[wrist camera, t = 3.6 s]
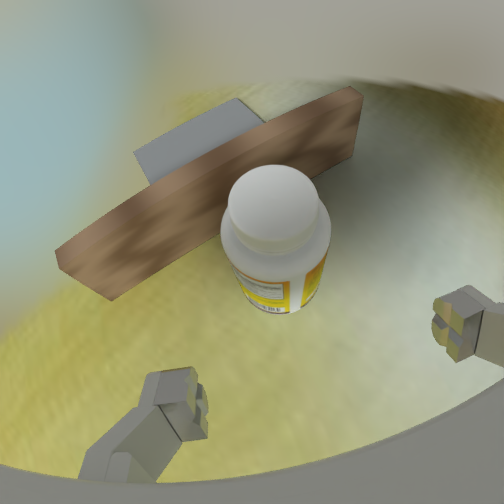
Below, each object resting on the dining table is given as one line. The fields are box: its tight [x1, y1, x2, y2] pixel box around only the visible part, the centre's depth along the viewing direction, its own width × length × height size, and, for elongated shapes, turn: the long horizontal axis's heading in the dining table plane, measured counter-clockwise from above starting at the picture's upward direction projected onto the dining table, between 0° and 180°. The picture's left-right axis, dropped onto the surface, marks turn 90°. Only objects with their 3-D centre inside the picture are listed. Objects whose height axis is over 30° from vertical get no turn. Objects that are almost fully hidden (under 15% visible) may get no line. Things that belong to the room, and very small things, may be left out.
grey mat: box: [133, 98, 264, 185], centre depth 28 cm, size 12×9×1 cm
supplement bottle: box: [220, 165, 331, 315], centre depth 18 cm, size 6×6×10 cm
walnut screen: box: [55, 86, 364, 301], centre depth 22 cm, size 24×2×7 cm, turn 123°
